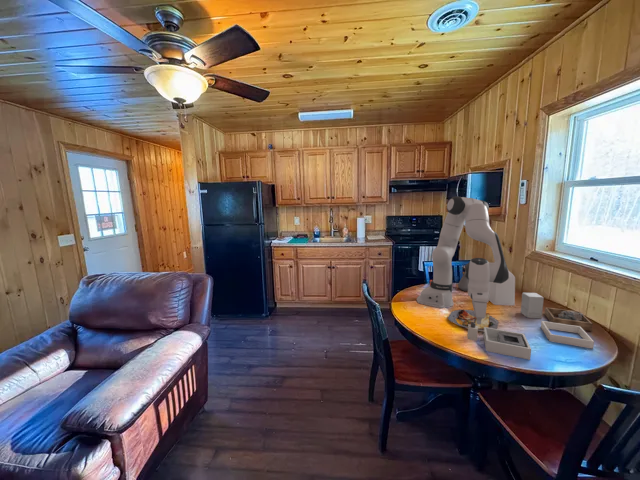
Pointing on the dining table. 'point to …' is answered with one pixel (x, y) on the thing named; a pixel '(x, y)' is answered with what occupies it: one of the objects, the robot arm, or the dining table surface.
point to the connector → (472, 331)
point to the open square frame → (583, 342)
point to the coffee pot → (463, 283)
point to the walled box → (504, 348)
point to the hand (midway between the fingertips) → (477, 319)
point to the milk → (503, 292)
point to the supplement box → (532, 305)
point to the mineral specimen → (571, 315)
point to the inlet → (510, 339)
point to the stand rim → (552, 312)
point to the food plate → (468, 317)
